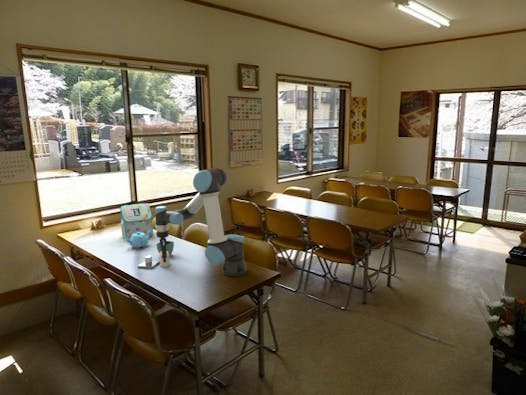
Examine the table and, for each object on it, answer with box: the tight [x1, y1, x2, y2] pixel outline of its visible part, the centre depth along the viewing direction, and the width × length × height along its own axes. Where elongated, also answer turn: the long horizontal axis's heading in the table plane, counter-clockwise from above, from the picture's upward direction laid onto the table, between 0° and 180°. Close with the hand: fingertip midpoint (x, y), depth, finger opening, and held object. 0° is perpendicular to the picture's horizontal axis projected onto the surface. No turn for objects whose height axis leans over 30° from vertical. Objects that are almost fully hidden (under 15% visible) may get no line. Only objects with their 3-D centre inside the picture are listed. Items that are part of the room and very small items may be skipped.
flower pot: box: [156, 240, 175, 256], centre depth 266 cm, size 9×9×9 cm
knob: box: [158, 251, 171, 267], centre depth 249 cm, size 6×6×8 cm
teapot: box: [124, 230, 151, 250], centre depth 284 cm, size 15×14×11 cm
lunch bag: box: [119, 203, 154, 240], centre depth 306 cm, size 23×16×27 cm
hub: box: [137, 255, 160, 270], centre depth 247 cm, size 10×10×6 cm
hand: (164, 264), depth 250 cm, fingers open, 9 cm apart
